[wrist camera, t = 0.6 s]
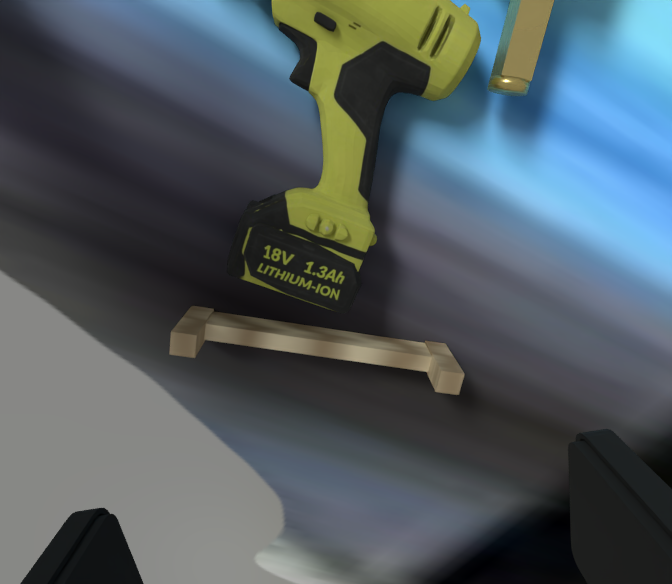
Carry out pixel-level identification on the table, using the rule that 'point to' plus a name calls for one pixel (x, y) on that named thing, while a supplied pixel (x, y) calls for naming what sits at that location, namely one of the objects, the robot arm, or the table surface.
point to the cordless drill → (347, 134)
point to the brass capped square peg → (519, 46)
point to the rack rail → (316, 344)
